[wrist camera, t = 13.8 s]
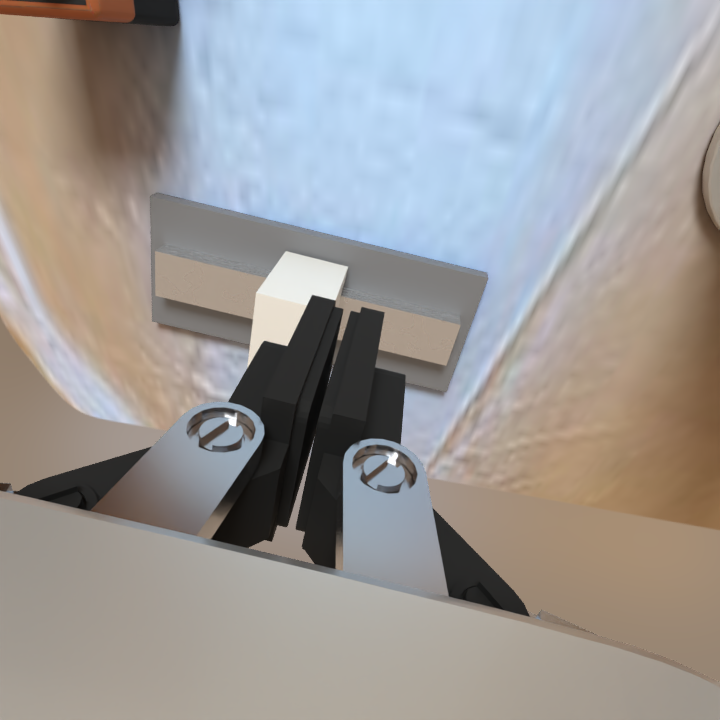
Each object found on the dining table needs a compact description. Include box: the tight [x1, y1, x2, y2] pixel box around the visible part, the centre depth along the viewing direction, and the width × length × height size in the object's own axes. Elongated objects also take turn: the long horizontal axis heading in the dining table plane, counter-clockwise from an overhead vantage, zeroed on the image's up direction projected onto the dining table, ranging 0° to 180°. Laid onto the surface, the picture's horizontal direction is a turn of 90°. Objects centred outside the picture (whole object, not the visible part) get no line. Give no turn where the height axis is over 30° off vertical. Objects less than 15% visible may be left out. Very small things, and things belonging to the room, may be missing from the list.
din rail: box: [155, 244, 461, 366], centre depth 37 cm, size 22×4×2 cm, turn 78°
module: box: [247, 251, 348, 368], centre depth 35 cm, size 4×8×7 cm, turn 168°
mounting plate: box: [150, 193, 488, 392], centre depth 38 cm, size 24×10×1 cm, turn 78°
